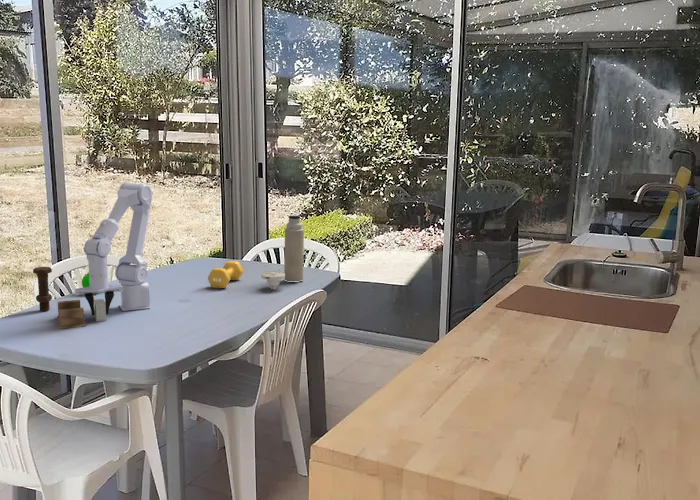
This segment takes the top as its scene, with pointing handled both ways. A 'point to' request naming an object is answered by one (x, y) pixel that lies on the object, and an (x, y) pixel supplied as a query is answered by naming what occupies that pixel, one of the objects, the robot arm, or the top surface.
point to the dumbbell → (225, 274)
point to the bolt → (43, 287)
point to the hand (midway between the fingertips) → (100, 314)
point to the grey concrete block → (100, 310)
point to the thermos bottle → (294, 249)
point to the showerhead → (273, 278)
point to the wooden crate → (70, 314)
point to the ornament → (85, 281)
